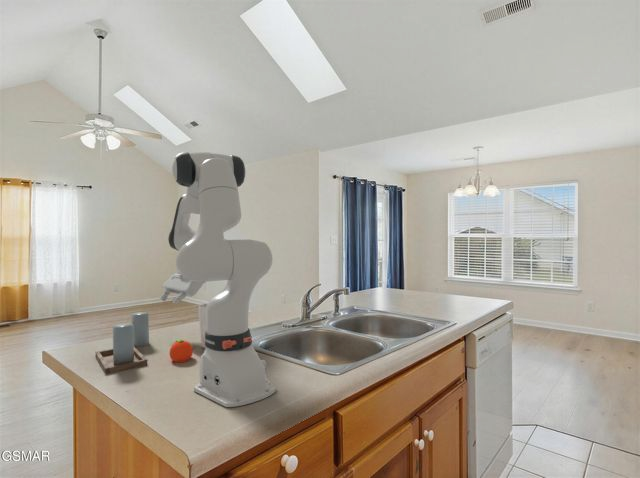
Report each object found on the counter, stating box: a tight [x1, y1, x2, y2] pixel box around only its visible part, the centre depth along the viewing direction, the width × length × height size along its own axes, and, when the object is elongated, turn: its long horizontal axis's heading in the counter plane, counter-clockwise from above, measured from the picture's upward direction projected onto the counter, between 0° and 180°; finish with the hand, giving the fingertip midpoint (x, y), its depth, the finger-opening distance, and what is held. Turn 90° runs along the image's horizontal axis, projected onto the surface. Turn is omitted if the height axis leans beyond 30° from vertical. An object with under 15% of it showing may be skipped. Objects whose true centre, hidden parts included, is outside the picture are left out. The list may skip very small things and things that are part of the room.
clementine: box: [169, 339, 194, 363], centre depth 114 cm, size 8×7×7 cm
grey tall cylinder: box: [112, 322, 134, 366], centre depth 110 cm, size 6×6×12 cm
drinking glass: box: [198, 303, 208, 349], centre depth 130 cm, size 7×7×15 cm
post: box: [131, 311, 150, 348], centre depth 130 cm, size 6×6×12 cm
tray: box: [95, 347, 148, 375], centre depth 114 cm, size 19×11×2 cm, turn 39°
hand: (168, 301), depth 138 cm, fingers open, 8 cm apart
